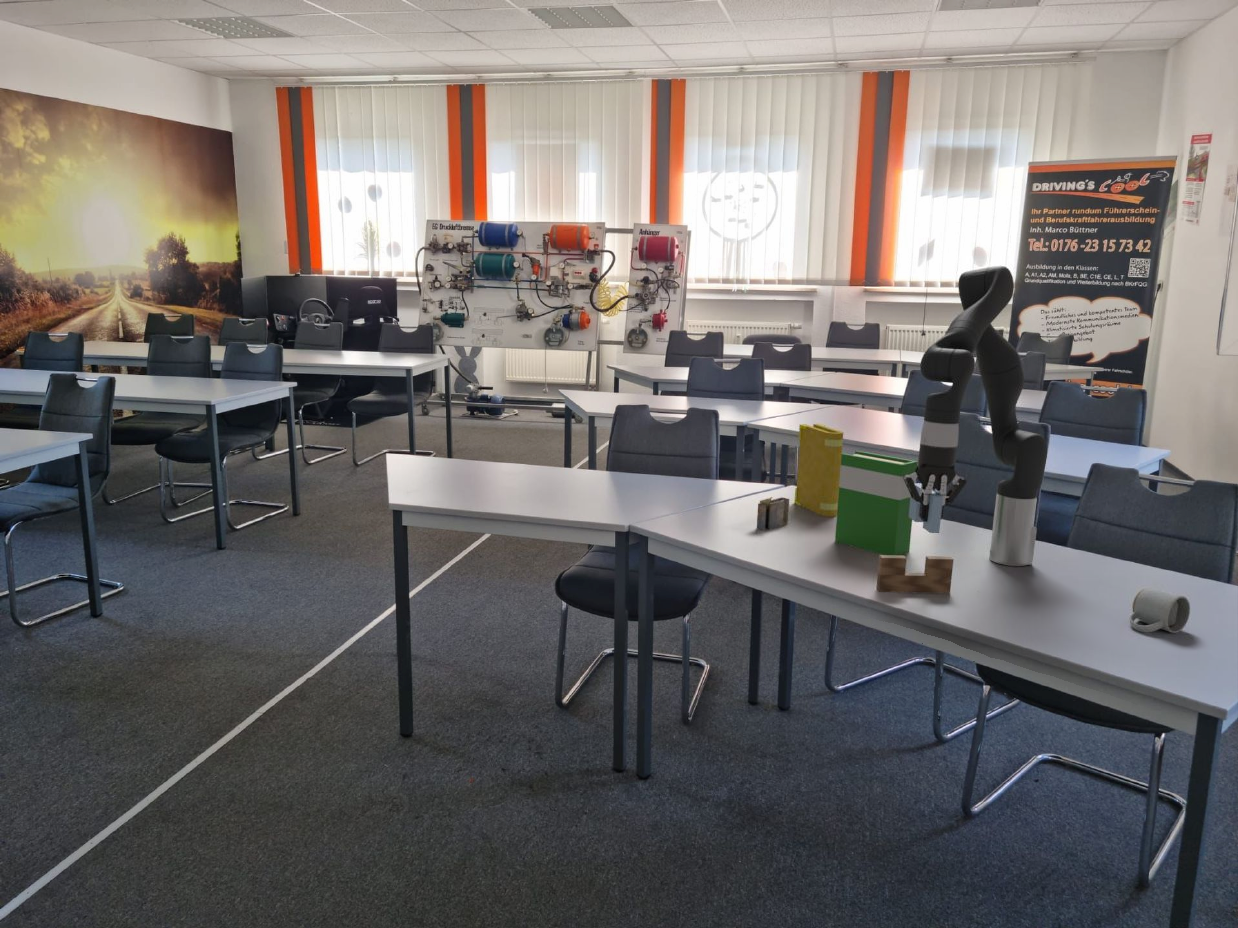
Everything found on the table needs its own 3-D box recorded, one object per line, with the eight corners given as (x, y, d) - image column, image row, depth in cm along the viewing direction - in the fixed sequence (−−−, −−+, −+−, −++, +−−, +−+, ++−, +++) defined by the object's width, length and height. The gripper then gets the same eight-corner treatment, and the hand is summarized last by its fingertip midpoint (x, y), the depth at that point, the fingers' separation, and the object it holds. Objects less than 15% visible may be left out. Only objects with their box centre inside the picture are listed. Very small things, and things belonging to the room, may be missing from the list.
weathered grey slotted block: (765, 532, 245) (767, 498, 243) (756, 530, 247) (758, 496, 245) (789, 525, 253) (791, 492, 251) (780, 522, 255) (782, 490, 253)
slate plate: (908, 517, 202) (912, 483, 201) (917, 517, 202) (920, 483, 201) (929, 532, 189) (933, 496, 187) (939, 533, 189) (943, 496, 187)
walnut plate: (946, 590, 200) (950, 556, 199) (949, 593, 198) (953, 559, 197) (876, 588, 200) (879, 554, 199) (878, 591, 198) (881, 557, 197)
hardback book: (834, 541, 236) (841, 453, 231) (850, 536, 241) (857, 450, 236) (894, 557, 224) (902, 465, 219) (909, 551, 229) (917, 461, 224)
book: (794, 503, 277) (799, 424, 271) (813, 501, 279) (818, 423, 273) (822, 517, 261) (828, 433, 256) (842, 515, 263) (848, 433, 258)
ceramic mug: (1149, 616, 187) (1153, 581, 186) (1188, 629, 180) (1193, 594, 178) (1117, 624, 182) (1122, 589, 181) (1156, 639, 175) (1162, 602, 174)
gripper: (964, 440, 192) (955, 517, 195) (901, 438, 192) (893, 515, 195) (978, 446, 184) (968, 526, 188) (912, 444, 184) (903, 524, 188)
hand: (930, 520), depth 191 cm, fingers closed on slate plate, 2 cm apart
